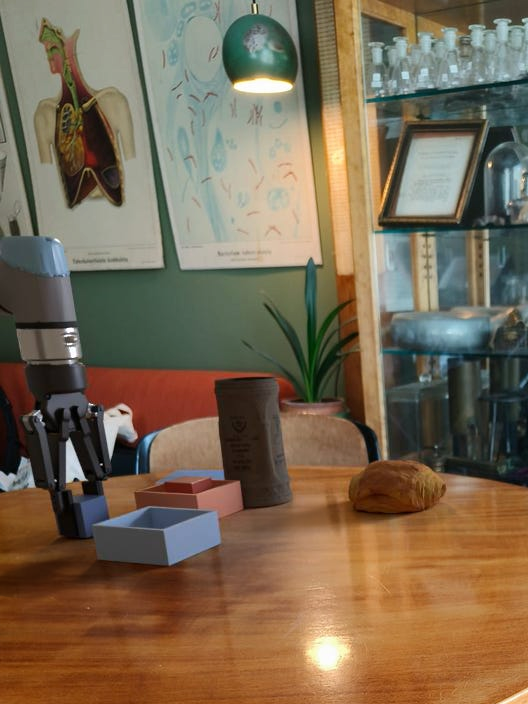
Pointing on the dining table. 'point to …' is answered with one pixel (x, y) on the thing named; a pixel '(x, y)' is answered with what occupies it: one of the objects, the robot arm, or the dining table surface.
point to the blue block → (88, 513)
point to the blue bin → (156, 535)
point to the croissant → (395, 487)
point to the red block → (188, 485)
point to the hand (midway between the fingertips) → (84, 530)
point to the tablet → (194, 474)
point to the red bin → (195, 498)
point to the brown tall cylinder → (253, 439)
